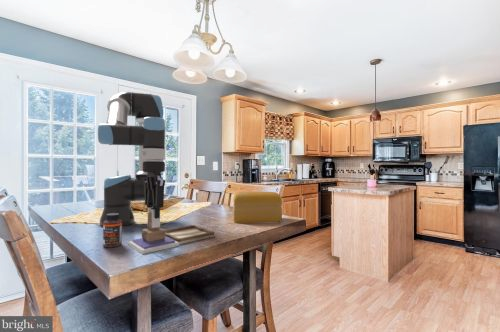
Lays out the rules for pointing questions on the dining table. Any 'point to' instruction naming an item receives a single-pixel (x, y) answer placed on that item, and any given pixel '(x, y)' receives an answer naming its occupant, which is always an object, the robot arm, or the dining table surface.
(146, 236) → the stamp
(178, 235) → the print board
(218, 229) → the dining table surface
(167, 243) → the ink pad
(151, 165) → the robot arm
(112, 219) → the supplement bottle
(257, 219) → the bread
